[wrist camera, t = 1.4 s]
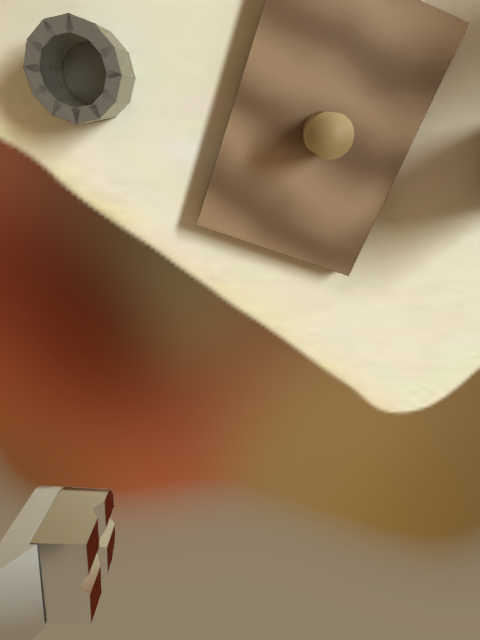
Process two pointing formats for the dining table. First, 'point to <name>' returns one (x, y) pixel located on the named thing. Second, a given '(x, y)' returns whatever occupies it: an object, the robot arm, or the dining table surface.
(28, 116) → the dining table surface
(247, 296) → the dining table surface
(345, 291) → the dining table surface
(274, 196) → the post stand
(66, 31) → the steel ring
